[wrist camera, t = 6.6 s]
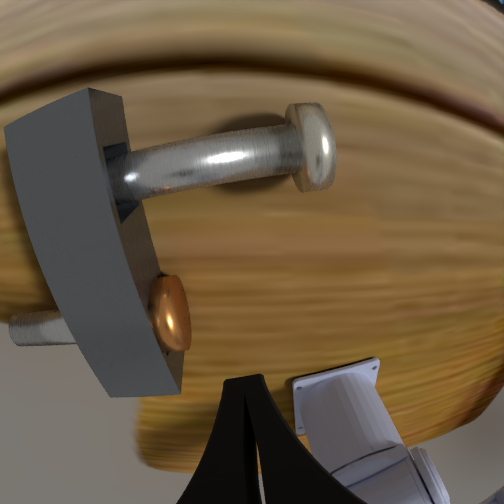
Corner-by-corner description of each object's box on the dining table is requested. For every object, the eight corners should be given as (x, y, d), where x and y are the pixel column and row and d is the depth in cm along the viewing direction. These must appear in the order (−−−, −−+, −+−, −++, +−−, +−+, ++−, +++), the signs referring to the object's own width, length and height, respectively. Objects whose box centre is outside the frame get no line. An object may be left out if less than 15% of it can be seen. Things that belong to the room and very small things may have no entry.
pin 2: (301, 104, 15) (330, 98, 11) (310, 180, 17) (339, 199, 13) (73, 151, 14) (34, 161, 10) (90, 221, 16) (58, 250, 12)
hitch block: (185, 345, 21) (180, 394, 16) (124, 351, 20) (110, 397, 16) (121, 96, 14) (87, 87, 9) (49, 122, 13) (3, 127, 9)
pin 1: (176, 261, 18) (166, 301, 14) (193, 319, 19) (189, 365, 15) (19, 289, 17) (-10, 322, 13) (42, 335, 19) (21, 371, 15)
